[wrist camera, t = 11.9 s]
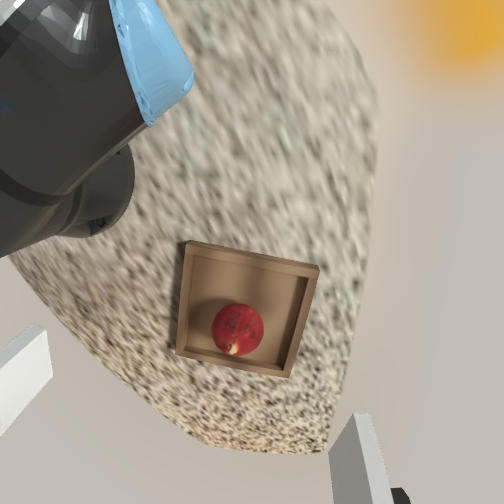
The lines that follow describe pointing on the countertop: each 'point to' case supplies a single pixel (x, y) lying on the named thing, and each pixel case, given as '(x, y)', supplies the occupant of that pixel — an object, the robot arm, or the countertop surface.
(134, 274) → the countertop surface
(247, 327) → the red fruit
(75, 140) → the robot arm
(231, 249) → the tray
